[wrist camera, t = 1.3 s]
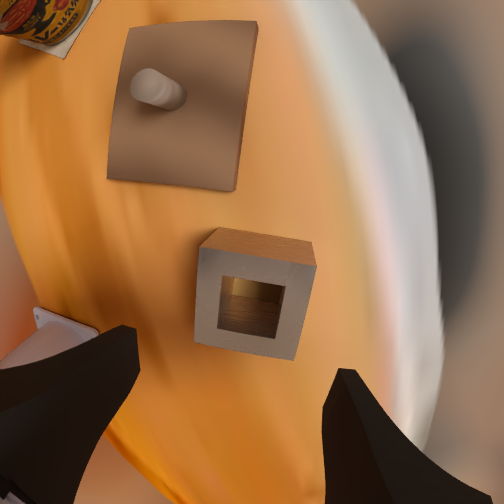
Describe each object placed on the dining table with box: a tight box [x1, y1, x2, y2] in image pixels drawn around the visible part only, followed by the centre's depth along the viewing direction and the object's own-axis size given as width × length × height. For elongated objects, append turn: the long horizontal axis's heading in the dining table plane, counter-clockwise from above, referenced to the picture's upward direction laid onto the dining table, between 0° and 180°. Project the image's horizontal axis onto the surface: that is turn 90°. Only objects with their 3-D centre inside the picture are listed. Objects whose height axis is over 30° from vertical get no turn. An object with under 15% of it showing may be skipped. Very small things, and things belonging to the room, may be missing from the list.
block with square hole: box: [194, 227, 317, 361], centre depth 16 cm, size 5×5×4 cm
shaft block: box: [107, 20, 258, 192], centre depth 13 cm, size 10×8×4 cm
